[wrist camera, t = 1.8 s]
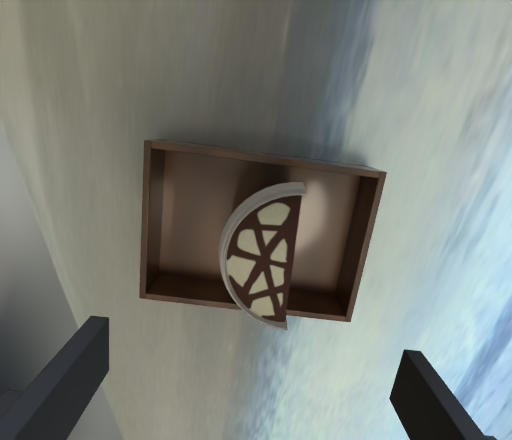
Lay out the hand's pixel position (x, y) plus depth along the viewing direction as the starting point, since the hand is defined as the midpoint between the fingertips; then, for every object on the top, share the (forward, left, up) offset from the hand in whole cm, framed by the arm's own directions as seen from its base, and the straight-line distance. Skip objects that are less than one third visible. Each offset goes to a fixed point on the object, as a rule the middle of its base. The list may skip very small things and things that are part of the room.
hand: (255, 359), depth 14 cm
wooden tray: (0, 0, -21) cm, 21 cm away
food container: (0, 0, -20) cm, 20 cm away
